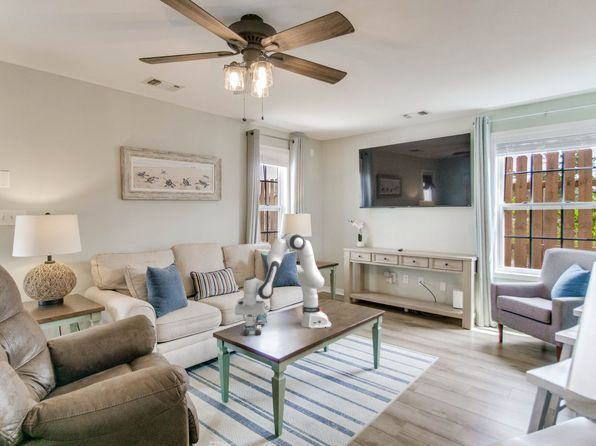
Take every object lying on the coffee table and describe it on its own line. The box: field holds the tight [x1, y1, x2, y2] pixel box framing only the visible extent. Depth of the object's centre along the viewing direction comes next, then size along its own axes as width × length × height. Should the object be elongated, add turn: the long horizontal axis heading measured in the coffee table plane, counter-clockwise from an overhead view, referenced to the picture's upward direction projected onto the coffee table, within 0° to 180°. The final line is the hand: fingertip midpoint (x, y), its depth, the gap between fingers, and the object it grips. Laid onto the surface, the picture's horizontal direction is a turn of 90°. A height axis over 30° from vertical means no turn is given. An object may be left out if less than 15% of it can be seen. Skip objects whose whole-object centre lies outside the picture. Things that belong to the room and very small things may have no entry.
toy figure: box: [254, 305, 270, 327], centre depth 246 cm, size 17×10×15 cm, turn 168°
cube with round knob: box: [245, 315, 255, 326], centre depth 230 cm, size 5×5×7 cm
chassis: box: [242, 324, 263, 337], centre depth 230 cm, size 12×11×4 cm
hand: (249, 320), depth 230 cm, fingers closed on cube with round knob, 5 cm apart
